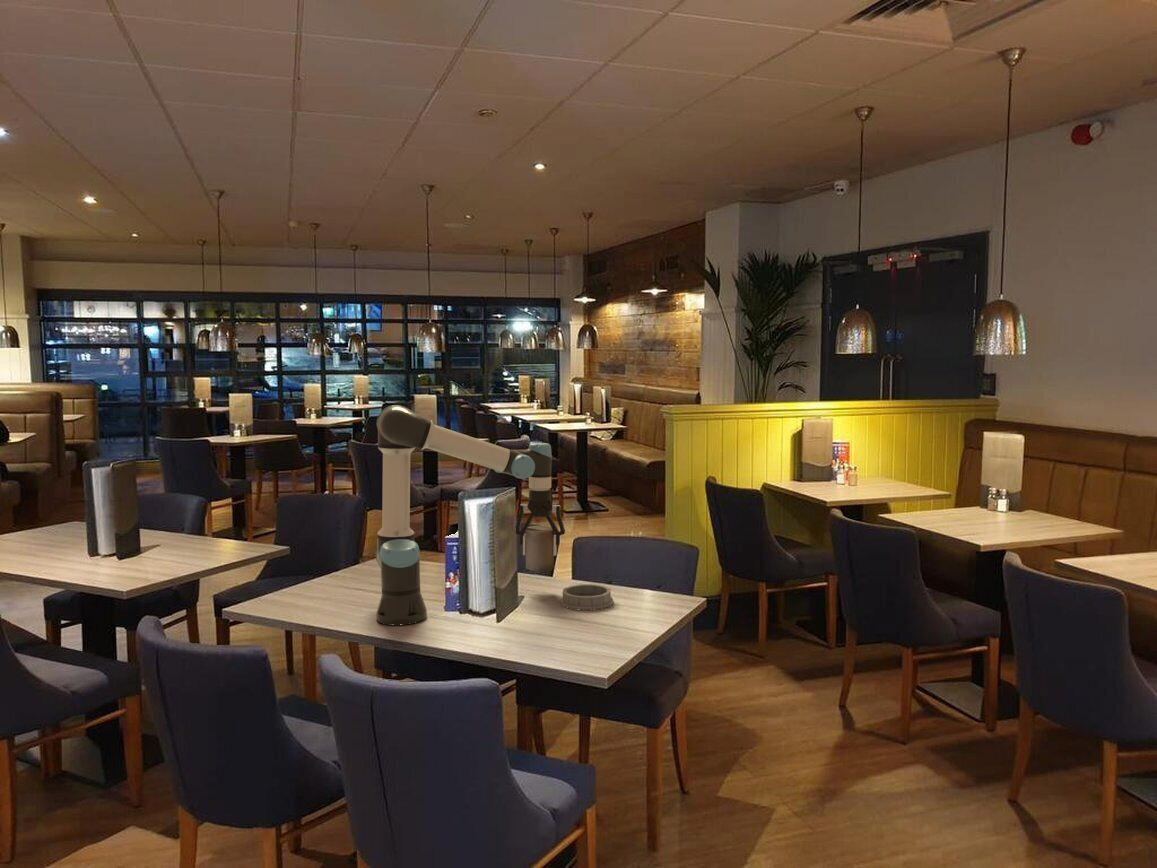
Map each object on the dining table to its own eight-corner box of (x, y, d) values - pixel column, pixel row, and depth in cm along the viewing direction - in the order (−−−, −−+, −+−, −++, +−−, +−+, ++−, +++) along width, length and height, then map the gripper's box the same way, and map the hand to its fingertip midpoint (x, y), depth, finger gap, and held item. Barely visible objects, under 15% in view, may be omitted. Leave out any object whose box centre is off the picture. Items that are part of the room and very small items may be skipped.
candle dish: (612, 610, 265) (612, 598, 264) (558, 610, 266) (558, 597, 265) (613, 595, 282) (613, 583, 281) (562, 595, 283) (562, 583, 282)
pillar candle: (555, 565, 290) (555, 522, 289) (552, 572, 280) (551, 527, 279) (527, 564, 291) (527, 521, 290) (523, 571, 281) (522, 526, 280)
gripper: (573, 487, 286) (573, 552, 288) (508, 486, 288) (508, 551, 290) (572, 491, 279) (571, 557, 281) (505, 490, 280) (505, 556, 282)
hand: (539, 554), depth 285 cm, fingers closed on pillar candle, 10 cm apart
